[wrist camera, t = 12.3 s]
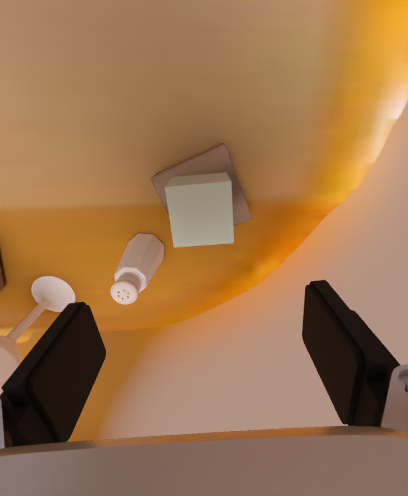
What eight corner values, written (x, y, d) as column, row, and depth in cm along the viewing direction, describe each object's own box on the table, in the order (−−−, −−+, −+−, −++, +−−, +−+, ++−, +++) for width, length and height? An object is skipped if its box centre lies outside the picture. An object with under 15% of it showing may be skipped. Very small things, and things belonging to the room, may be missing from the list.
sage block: (172, 176, 28) (164, 187, 22) (226, 172, 28) (231, 181, 22) (179, 227, 30) (173, 247, 25) (228, 223, 30) (233, 242, 25)
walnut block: (156, 173, 32) (150, 178, 28) (222, 143, 30) (224, 144, 27) (186, 234, 35) (184, 245, 31) (247, 209, 34) (252, 218, 30)
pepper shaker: (156, 226, 34) (136, 265, 24) (171, 260, 36) (158, 308, 26) (120, 238, 35) (86, 280, 25) (137, 270, 37) (111, 321, 27)
